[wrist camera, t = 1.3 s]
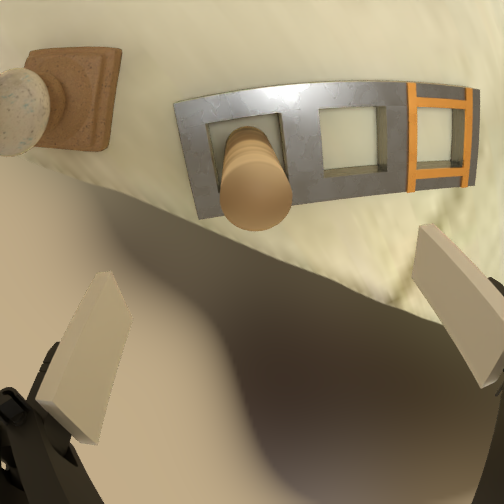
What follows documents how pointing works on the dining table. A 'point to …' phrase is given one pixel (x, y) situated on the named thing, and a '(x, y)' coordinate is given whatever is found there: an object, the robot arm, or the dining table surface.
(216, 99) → the grey peg board
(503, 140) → the dining table surface
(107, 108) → the candle holder
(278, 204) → the peg
